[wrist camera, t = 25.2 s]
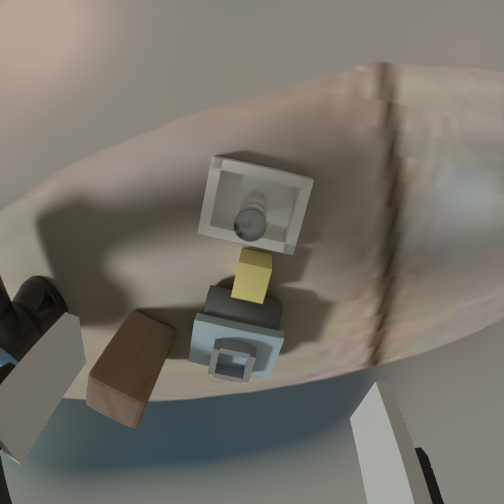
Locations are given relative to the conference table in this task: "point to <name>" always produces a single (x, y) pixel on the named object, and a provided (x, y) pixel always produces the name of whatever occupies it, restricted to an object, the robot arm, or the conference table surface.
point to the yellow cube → (252, 276)
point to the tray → (265, 182)
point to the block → (129, 369)
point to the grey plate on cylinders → (237, 336)
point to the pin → (251, 217)
